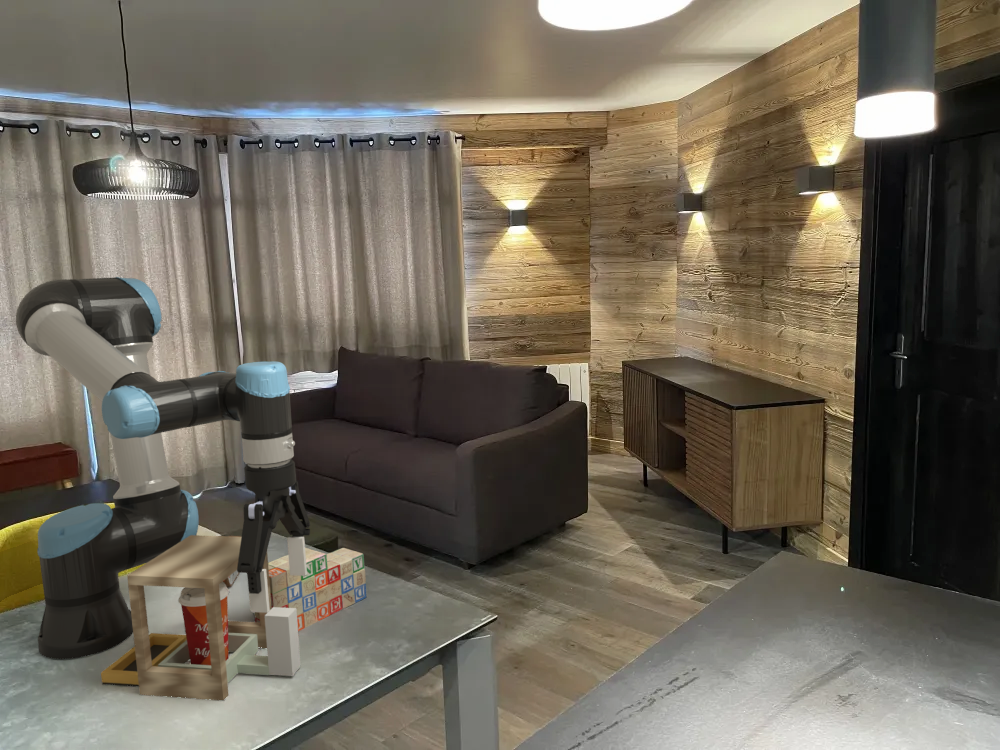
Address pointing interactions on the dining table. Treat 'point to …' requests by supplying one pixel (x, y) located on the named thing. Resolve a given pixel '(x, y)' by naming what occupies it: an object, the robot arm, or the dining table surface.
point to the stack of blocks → (318, 584)
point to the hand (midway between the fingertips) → (280, 592)
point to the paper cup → (201, 623)
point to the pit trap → (126, 666)
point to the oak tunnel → (206, 568)
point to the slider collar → (255, 649)
